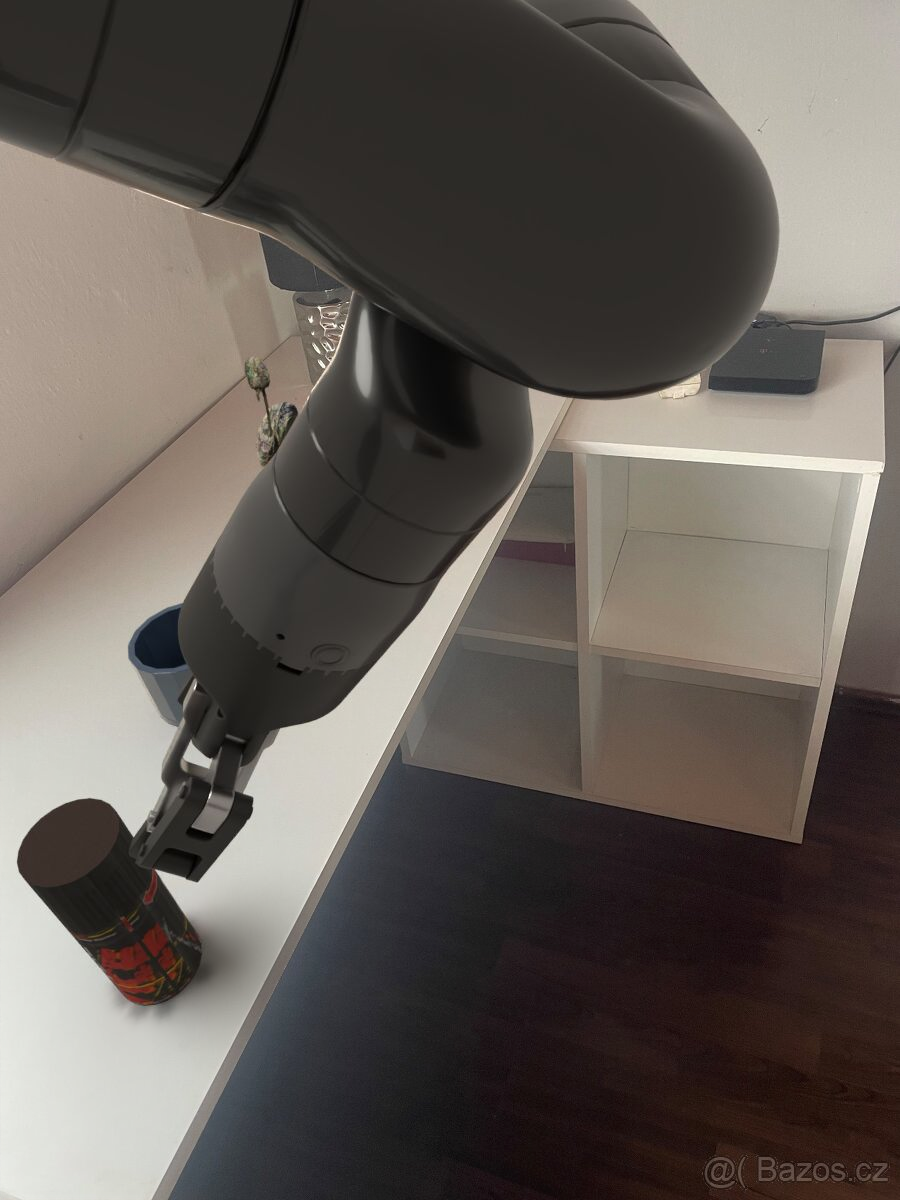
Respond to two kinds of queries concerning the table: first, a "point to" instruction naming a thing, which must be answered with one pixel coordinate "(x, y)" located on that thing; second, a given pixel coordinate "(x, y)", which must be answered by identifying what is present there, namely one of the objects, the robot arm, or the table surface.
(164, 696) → the holder
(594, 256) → the robot arm
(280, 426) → the plant with pod
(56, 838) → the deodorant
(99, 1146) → the table surface
